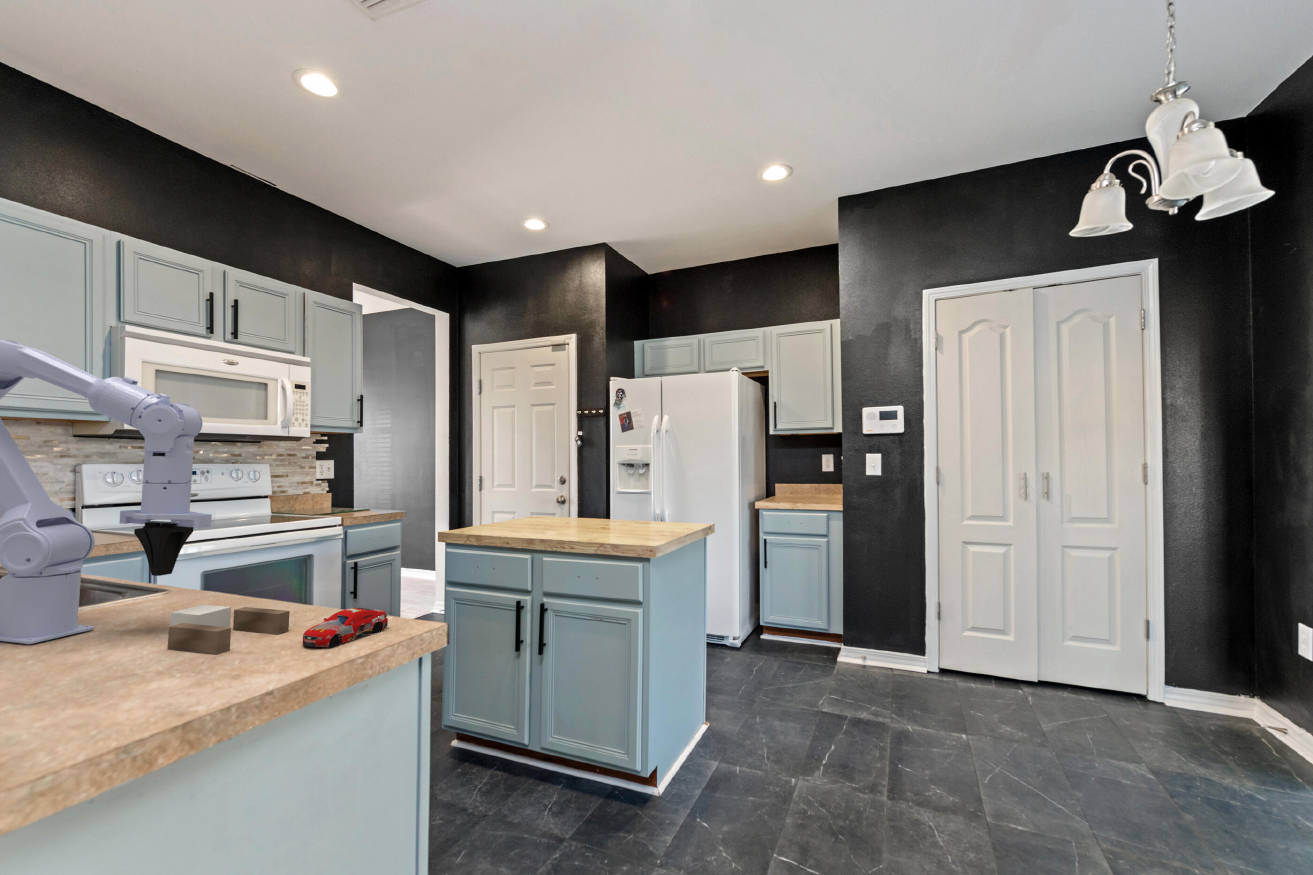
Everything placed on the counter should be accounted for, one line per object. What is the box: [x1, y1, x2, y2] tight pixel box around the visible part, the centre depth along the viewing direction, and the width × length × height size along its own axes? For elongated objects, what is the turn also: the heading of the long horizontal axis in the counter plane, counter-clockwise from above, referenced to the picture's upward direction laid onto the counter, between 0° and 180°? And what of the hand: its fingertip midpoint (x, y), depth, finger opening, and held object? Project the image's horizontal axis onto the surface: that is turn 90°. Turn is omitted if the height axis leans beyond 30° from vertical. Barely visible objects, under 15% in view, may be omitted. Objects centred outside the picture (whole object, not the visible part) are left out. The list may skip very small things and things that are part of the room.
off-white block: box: [169, 604, 232, 628], centre depth 89 cm, size 5×5×4 cm
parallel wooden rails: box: [166, 606, 290, 655], centre depth 88 cm, size 8×12×3 cm, turn 168°
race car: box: [302, 607, 389, 649], centre depth 90 cm, size 13×5×4 cm, turn 159°
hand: (161, 574), depth 91 cm, fingers closed
